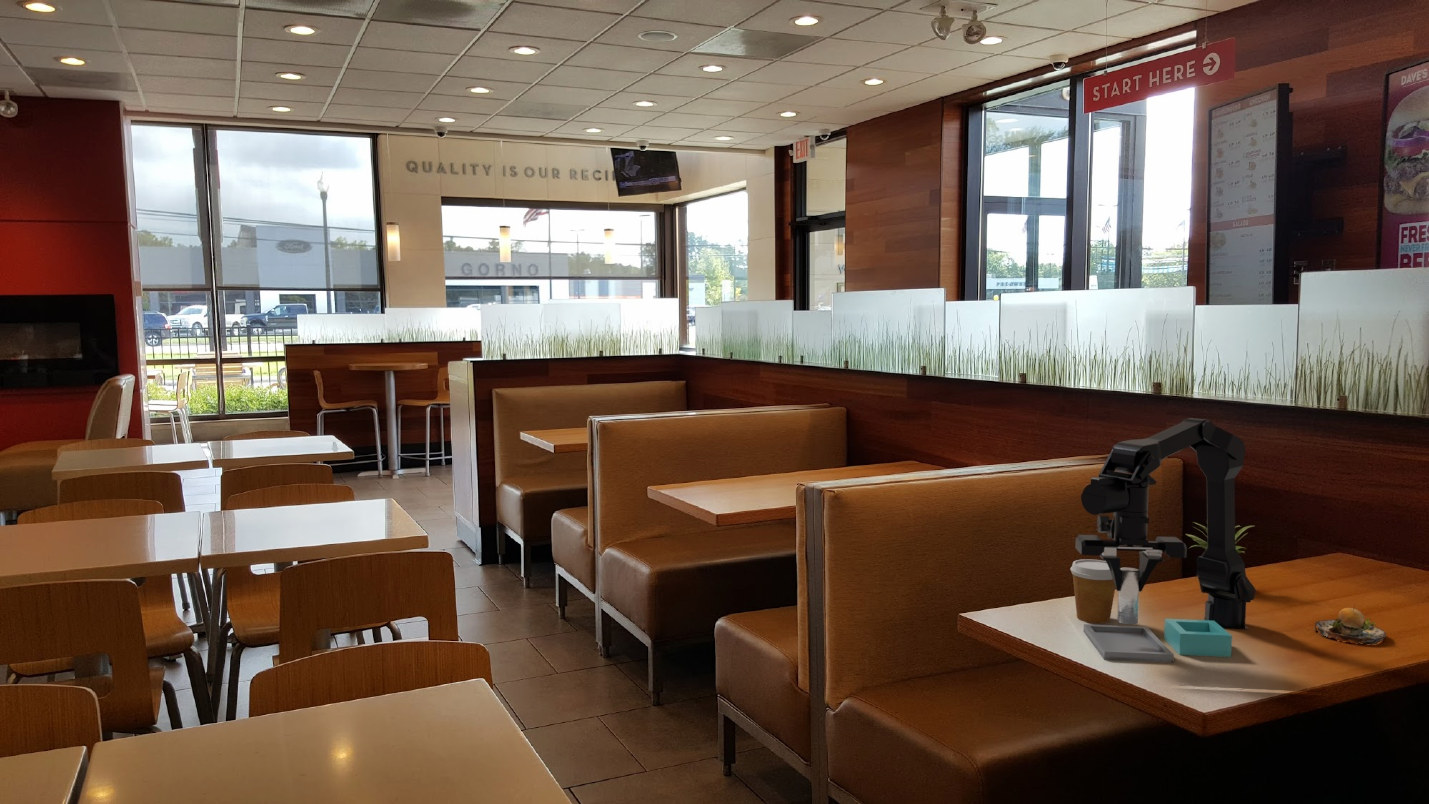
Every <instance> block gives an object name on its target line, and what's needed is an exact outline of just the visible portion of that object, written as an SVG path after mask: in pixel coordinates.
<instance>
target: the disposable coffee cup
mask: <svg viewBox="0 0 1429 804" xmlns="http://www.w3.org/2000/svg"><path fill="white" fill-rule="evenodd" d="M1071 565H1072V566H1071V567H1070V571H1071V574H1072V579H1073V582H1072V583H1073V589H1074V591H1073V592H1074V600H1075V601H1074V602H1075V611H1076V618H1077V619H1078V620H1079V621H1081V622H1084V623H1088V624H1095V625H1103V624H1107V623H1109V622H1110V621H1111V617H1112V616H1111V614H1112V609H1113V602H1114V599H1115V598H1114V597H1115V591H1116V588H1115V585H1114V582H1113V578H1112V575H1111V572H1110V569H1109V567H1108V564H1107V562H1106V560H1103V559H1102V560H1101V559H1087V558H1085V559H1077V560H1074V561H1073V562H1072V564H1071Z"/></svg>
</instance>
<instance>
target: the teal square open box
mask: <svg viewBox="0 0 1429 804" xmlns="http://www.w3.org/2000/svg"><path fill="white" fill-rule="evenodd" d="M1163 632H1164V635H1163V639H1164V641H1166V643H1167V644H1168V645H1170V647H1171V648H1172V649H1173V650H1174V652H1176V653H1177V654H1178V655H1179V656H1194V657H1195V656H1198V657H1220V658H1222V657H1223V658H1232V643H1233V635H1232V634H1231V633H1230V632H1228V631H1227V629H1223V628H1222V627H1221V626H1220V625H1219V624H1217V623H1216V622H1215V621H1211V620H1205V619H1184V618H1183V619H1181V618H1180V619H1179V618H1177V619H1176V618H1164V631H1163Z"/></svg>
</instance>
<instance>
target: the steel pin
mask: <svg viewBox="0 0 1429 804" xmlns="http://www.w3.org/2000/svg"><path fill="white" fill-rule="evenodd" d="M1139 580H1140V570H1139V568H1138V569H1137V568H1134V567H1120V591H1118V593H1117V594H1118V595H1117V598H1118V599H1117V620H1116V621H1117V622H1118V623H1120V624H1124V625H1129V626H1133V625H1138V624H1139V606H1140V605H1139V602H1140V592H1139Z"/></svg>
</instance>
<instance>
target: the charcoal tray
mask: <svg viewBox="0 0 1429 804" xmlns="http://www.w3.org/2000/svg"><path fill="white" fill-rule="evenodd" d="M1083 633H1084V635H1085V636H1086V637H1087V639H1088V640H1089V641H1090V643H1091V644H1092V646H1093V647H1094V648H1095V649H1096V650H1097V652H1098V653H1099V655H1100V656H1101V657H1102V659H1103V660H1104V661H1121V662H1123V661H1124V662H1126V661H1127V662H1146V663H1147V662H1148V663H1149V662H1150V663H1166V664H1167V663H1170V664H1171V663H1174V660H1175V659H1174V655H1175V654H1174V653H1173V652H1172V651H1171V650H1170V649H1169V648H1168V647H1167V646H1166V645H1165V644H1164V643H1163V642H1162V641H1161V640H1160V638H1159V637H1158V636H1156V634H1155V633H1154V632H1152V630H1151V629H1150V628H1148V626H1133V625H1113V624H1112V625H1109V624H1108V625H1107V624H1090V623H1088V624H1086V623H1085V624H1084V623H1083Z"/></svg>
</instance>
